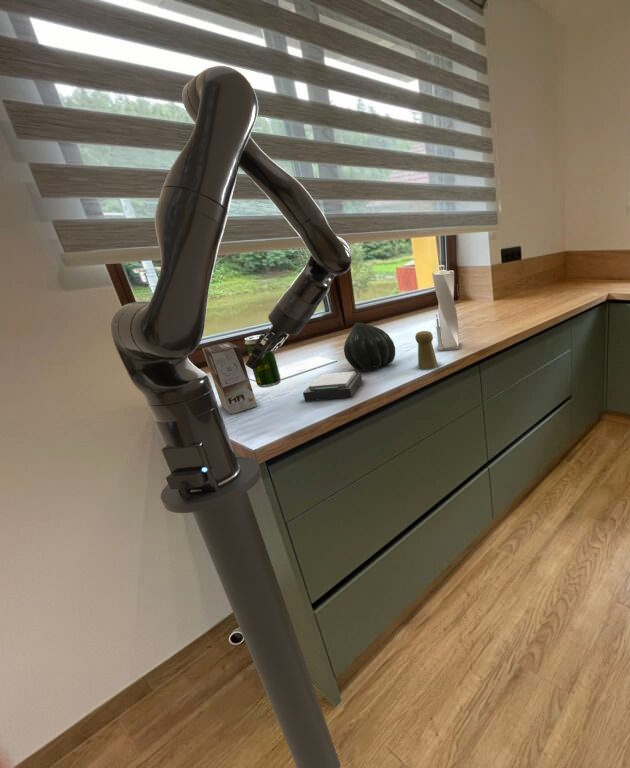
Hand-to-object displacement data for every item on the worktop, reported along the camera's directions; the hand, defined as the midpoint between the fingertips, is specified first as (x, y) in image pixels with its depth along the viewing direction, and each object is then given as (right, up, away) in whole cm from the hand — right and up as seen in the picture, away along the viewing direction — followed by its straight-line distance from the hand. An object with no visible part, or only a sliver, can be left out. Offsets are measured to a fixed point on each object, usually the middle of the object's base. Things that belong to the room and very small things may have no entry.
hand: (255, 362), depth 103 cm
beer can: (+2, -5, +2) cm, 6 cm away
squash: (+18, 0, +32) cm, 37 cm away
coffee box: (-9, -11, +8) cm, 16 cm away
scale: (+13, -7, +14) cm, 21 cm away
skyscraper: (+40, +8, +48) cm, 63 cm away
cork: (+36, 0, +29) cm, 46 cm away
